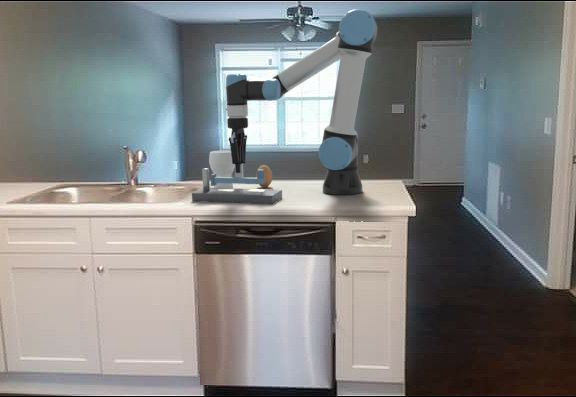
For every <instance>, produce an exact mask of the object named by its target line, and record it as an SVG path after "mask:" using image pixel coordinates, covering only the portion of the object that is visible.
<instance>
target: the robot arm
mask: <svg viewBox="0 0 576 397" xmlns="http://www.w3.org/2000/svg"><path fill="white" fill-rule="evenodd" d="M378 32H379V28H378V24H377V22H376V20H375V18H374V16H373V15H372V14H371V13H370V12H369V11H367V10H364V9H358V8H357V9H352V10H349V11H347V12H346V13H345V14H344V15H343V16H342V18H341V19H340V22H339V24H338V32H336V34H335V36H334V37H333V38H332V39H331V40H329V41H327V42H326V43H324V44H323V45H322V46H320V47H318V48H316V49H315V50H313V51H312V52H310V53H309V54H307V55H305V56H304V57H302V58H301V59H300V60H298V61H297V62H295V63H293V64H292V65H290V66H288V67H287V68H285V69H284V70H282V71H281V72H279V73H278V74H276V75H275V76H273V77H272V78H258V79H257V78H256V79H250V78H248V76H247V75H246V74H245V73H230V74H227V75H226V76H225V79H226V81H225V91H226V92H225V94H226V96H225V97H226V109H225V110H226V115H227V119H226V121H227V122H226V123H227V124H226V125H227V128H228V129H231V135H230V137H228V141H229V142H228V143H229V146H230V151H231V156H232V164H235V168H234V177H244V164H246V154H247V139H248V135H247V134H245V129H248V127H249V118H248V116H249V111H248V110H249V107H248V101H268V102H271V101H277V100H279V99H281V98H282V97H283V96H284V95H286V94H287V93H288V92H290V91H291V90H293V89H294V88H296V87H297V86H299V85H301V84H303V83H304V82H306V81H307V80H309V79H311V78H312V77H314V76H315V75H317V74H319V73H320V72H322V71H323V70H325V69H327V68H328V67H329V66H331V65H333V64H334V63H336V62H338V61H339V65H338V66H339V67H338V71H337V76H336V77H337V78H336V82H335V83H336V84H335V90H334V96H333V102H332V108H331V115H330V119H329V125H327V126H325V127H324V129H323V136H322V142H321V143H320V145H319V148H318V158H319V160H320V163H321V164H322V165H323V167H325V168H326V173H325V174H326V175H325V178H324V180H323V184H322V192H323V193H325V194H329V195H337V196H338V195H339V196H340V195H341V196H344V195H356V194H361V193H362V192H363V183H362V181H361V178H360V174H359V135H358V134H359V133H358V132H357V131H356V130H355V125H356V124H355V123H356V116H357V112H358V105H359V100H360V94H361V90H362V84H363V77H364V72H365V66H366V60H367V59H368V58H369V57H370V56H372V52H373V47H374V42H375V41H376V39H377V37H378Z"/></svg>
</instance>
